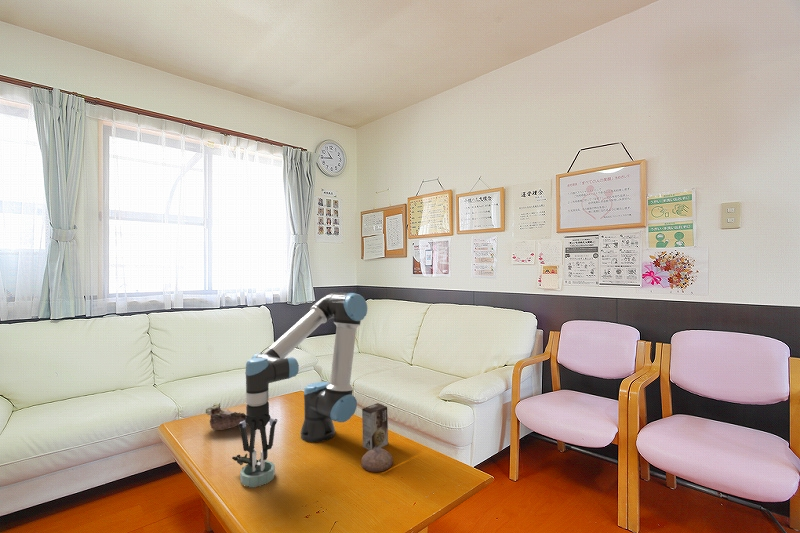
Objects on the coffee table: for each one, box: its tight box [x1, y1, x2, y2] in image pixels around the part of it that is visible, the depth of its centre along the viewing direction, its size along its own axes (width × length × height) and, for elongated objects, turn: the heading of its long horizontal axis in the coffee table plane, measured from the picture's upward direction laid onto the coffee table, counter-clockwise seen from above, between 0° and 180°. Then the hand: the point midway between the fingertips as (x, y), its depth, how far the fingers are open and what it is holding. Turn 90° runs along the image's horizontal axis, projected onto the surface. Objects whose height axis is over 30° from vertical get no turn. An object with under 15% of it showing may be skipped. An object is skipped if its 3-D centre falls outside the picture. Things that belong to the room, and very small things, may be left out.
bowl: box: [239, 459, 276, 488], centre depth 136 cm, size 11×11×4 cm
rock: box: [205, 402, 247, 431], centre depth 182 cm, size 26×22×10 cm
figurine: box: [231, 453, 261, 468], centre depth 139 cm, size 6×4×12 cm
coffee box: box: [361, 402, 389, 451], centre depth 160 cm, size 9×6×16 cm
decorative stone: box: [360, 447, 394, 473], centre depth 144 cm, size 12×12×6 cm
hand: (258, 469), depth 136 cm, fingers closed on figurine, 2 cm apart
